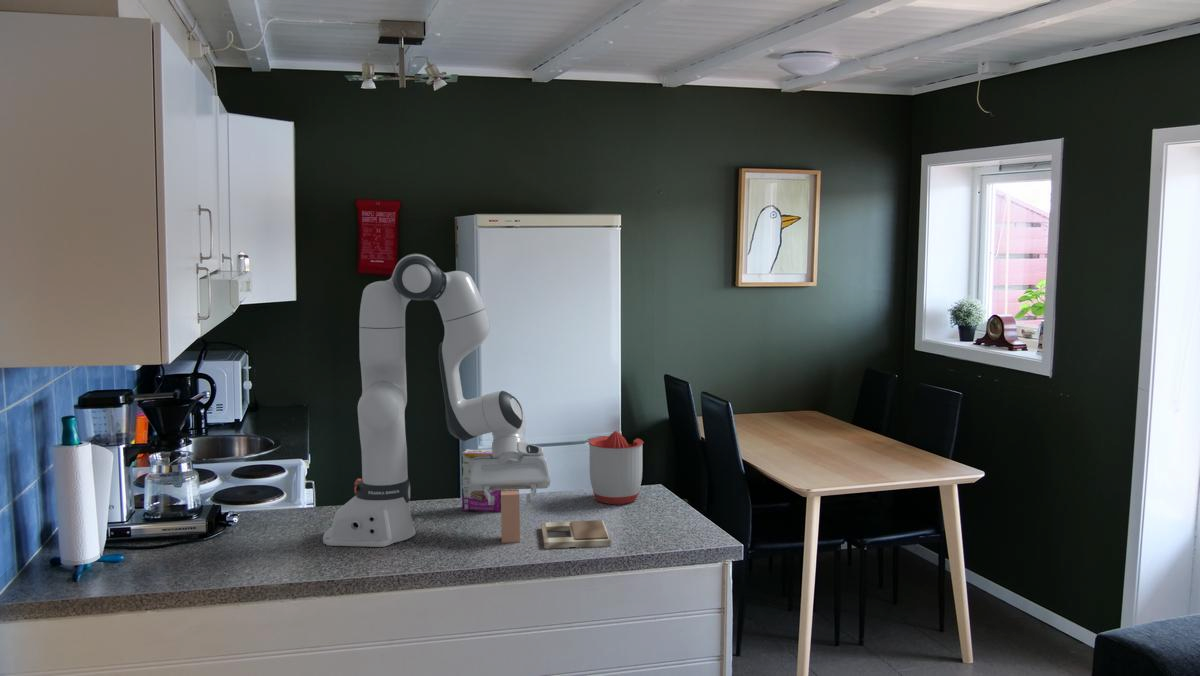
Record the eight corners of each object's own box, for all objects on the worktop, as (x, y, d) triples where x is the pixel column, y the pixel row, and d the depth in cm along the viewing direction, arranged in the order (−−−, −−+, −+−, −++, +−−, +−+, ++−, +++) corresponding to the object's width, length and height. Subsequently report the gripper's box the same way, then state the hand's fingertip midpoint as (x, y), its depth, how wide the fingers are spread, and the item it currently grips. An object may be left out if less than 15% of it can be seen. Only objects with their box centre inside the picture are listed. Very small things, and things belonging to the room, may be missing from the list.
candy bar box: (461, 511, 255) (460, 452, 253) (466, 506, 260) (465, 448, 258) (501, 512, 254) (501, 453, 252) (505, 507, 259) (504, 449, 257)
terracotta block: (501, 542, 228) (500, 495, 227) (501, 537, 233) (500, 490, 232) (520, 542, 229) (519, 494, 228) (519, 536, 233) (518, 489, 232)
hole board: (544, 548, 224) (544, 541, 224) (541, 528, 240) (541, 521, 239) (610, 546, 226) (610, 538, 225) (603, 526, 241) (603, 518, 241)
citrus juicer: (656, 495, 270) (656, 427, 268) (625, 510, 255) (625, 438, 253) (610, 488, 278) (610, 422, 276) (578, 502, 264) (577, 432, 262)
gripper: (467, 450, 235) (467, 498, 226) (548, 447, 237) (551, 495, 228) (468, 463, 240) (468, 511, 231) (548, 460, 242) (550, 507, 233)
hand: (510, 503), depth 230 cm, fingers open, 8 cm apart
